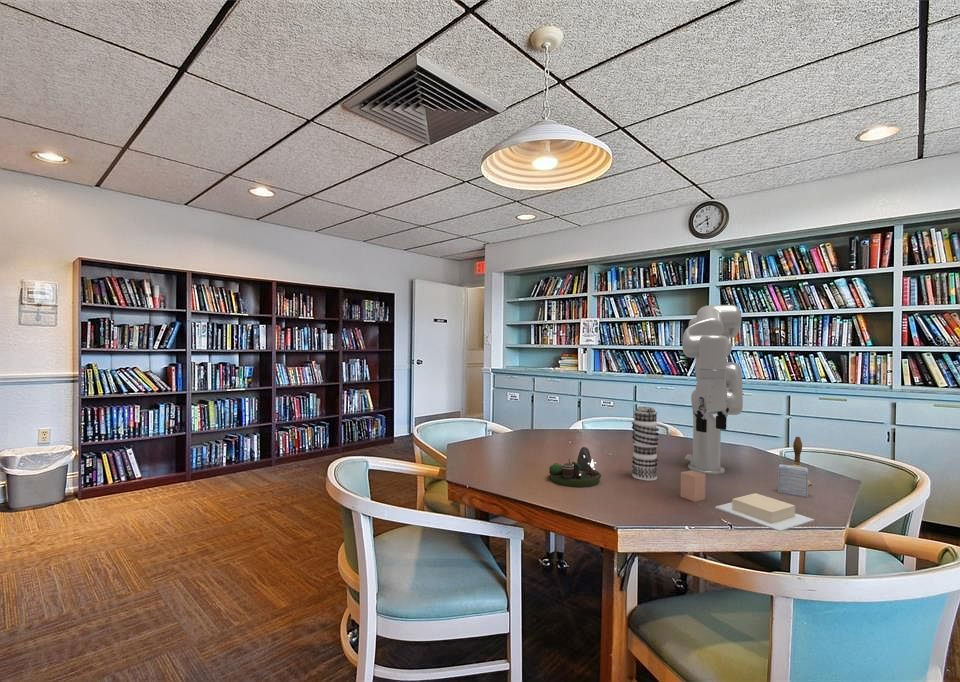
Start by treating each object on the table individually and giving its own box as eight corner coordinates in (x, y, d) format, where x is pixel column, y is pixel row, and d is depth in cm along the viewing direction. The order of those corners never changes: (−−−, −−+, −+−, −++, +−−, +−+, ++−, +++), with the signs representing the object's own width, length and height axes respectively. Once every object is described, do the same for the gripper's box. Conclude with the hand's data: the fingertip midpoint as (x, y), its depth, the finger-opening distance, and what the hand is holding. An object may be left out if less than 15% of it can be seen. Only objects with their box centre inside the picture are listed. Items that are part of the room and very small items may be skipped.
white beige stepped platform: (715, 509, 131) (715, 496, 131) (748, 501, 138) (749, 488, 138) (780, 534, 115) (780, 518, 115) (814, 523, 122) (814, 508, 122)
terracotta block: (680, 497, 141) (680, 472, 141) (691, 495, 143) (691, 470, 143) (694, 502, 136) (694, 476, 136) (705, 500, 138) (705, 474, 138)
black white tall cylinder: (626, 473, 166) (627, 405, 165) (651, 472, 166) (652, 405, 166) (637, 481, 156) (638, 409, 156) (662, 480, 157) (663, 409, 157)
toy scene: (611, 480, 157) (611, 450, 157) (581, 492, 145) (582, 459, 145) (568, 469, 170) (569, 441, 170) (538, 479, 158) (539, 449, 158)
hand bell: (783, 477, 163) (784, 433, 163) (812, 481, 158) (812, 436, 157) (781, 482, 156) (782, 437, 156) (810, 487, 151) (811, 440, 151)
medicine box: (807, 494, 145) (807, 467, 145) (808, 498, 141) (808, 470, 141) (778, 489, 149) (778, 463, 149) (778, 493, 146) (778, 466, 146)
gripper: (717, 373, 146) (717, 426, 146) (683, 374, 137) (682, 430, 137) (740, 375, 139) (739, 430, 139) (705, 376, 131) (704, 435, 131)
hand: (711, 430), depth 138 cm, fingers open, 9 cm apart
